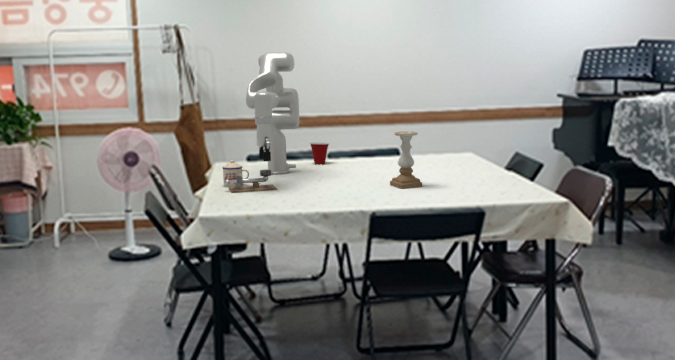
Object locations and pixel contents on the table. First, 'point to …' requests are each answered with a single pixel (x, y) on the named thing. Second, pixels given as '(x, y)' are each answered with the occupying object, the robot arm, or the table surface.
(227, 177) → the teacup with lid
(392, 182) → the candle holder
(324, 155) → the plastic cup
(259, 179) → the hook rod
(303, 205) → the table surface
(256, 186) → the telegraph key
